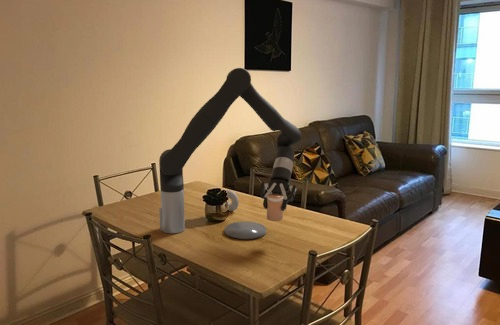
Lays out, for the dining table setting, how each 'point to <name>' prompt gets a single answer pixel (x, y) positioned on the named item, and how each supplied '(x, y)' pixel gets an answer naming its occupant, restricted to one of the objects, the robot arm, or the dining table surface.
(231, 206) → the donut
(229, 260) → the dining table surface
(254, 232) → the dish
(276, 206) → the pink cylinder
